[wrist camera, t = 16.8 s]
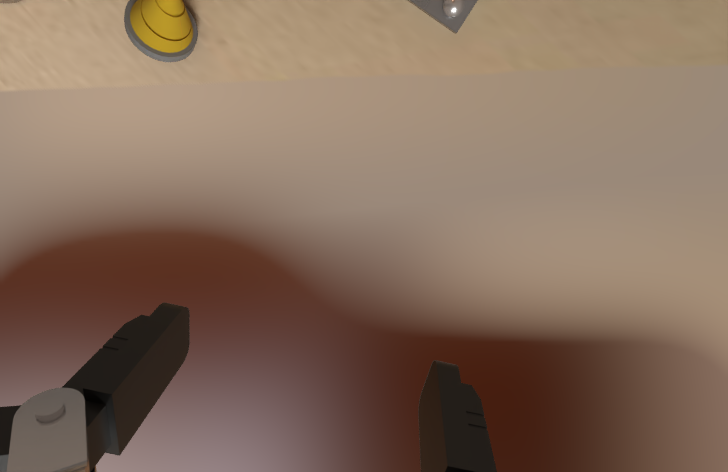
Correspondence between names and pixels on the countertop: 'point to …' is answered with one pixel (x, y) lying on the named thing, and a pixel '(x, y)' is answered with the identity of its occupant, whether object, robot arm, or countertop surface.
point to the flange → (446, 11)
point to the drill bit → (161, 28)
